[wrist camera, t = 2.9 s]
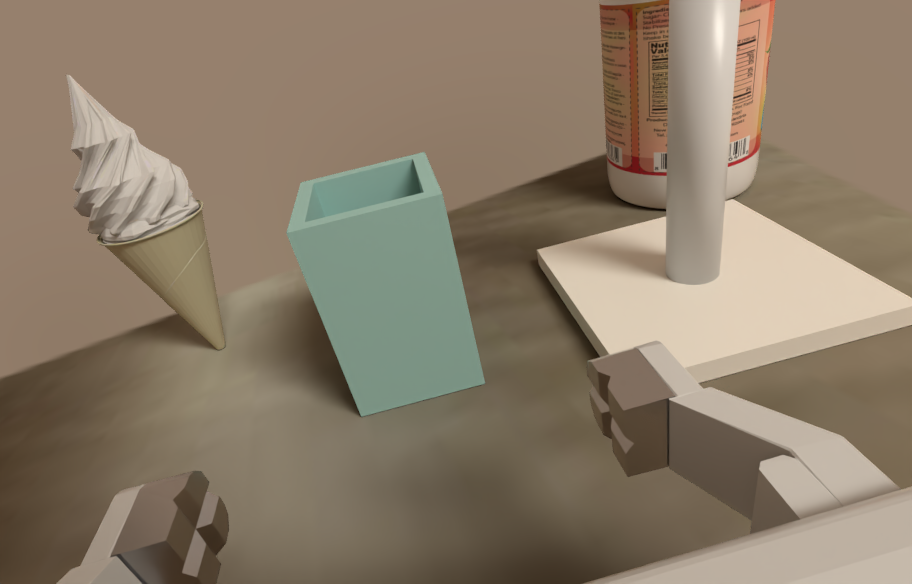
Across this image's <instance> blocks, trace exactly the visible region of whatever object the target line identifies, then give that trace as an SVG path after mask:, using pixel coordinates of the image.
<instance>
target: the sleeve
mask: <svg viewBox="0 0 912 584" xmlns="http://www.w3.org/2000/svg"><path fill="white" fill-rule="evenodd" d="M287 236H288V238H289V241H290V243H291V245H292V248H293V250H294V253H295V255H296V258H297V260H298V263H299V265H300V268H301V270H302V273H303V275H304V277H305V280H306V282H307V285H308V287H309V290H310V292H311V295H312V297H313V300H314V302H315V304H316V307H317V309H318V312H319V314H320V317H321V319H322V322H323V324H324V327H325V329H326V331H327V334H328V336H329V339H330V341H331V344H332V346H333V349H334V351H335V354H336V356H337V358H338V361H339V363H340V366H341V368H342V371H343V373H344V376H345V378H346V381H347V383H348V385H349V388H350V390H351V393H352V395H353V398H354V400H355V403H356V405H357V408H358V410H359V412H360V415H361V417H362V416H366V415H370V414H374V413H377V412H381V411H385V410H389V409H392V408H396V407H400V406H404V405H407V404H411V403H415V402H418V401H422V400H426V399H430V398H433V397H437V396H441V395H445V394H448V393H452V392H456V391H459V390H463V389H467V388H471V387H474V386H478V385H482V384H485V381H484V377H483V372H482V368H481V364H480V359H479V355H478V350H477V346H476V341H475V337H474V332H473V328H472V323H471V319H470V315H469V310H468V306H467V301H466V297H465V292H464V288H463V283H462V279H461V274H460V270H459V266H458V261H457V257H456V252H455V248H454V243H453V239H452V234H451V230H450V225H449V221H448V217H447V212H446V208H445V203H444V199H443V194H442V192H441V189H440V187H439V185H438V183H437V180H436V178H435V175H434V173H433V171H432V168H431V166H430V164H429V161H428V159H427V157H426V154H425V152H422V153H418V154H415V155H410V156H406V157H402V158H398V159H394V160H390V161H386V162H382V163H378V164H374V165H370V166H366V167H362V168H358V169H354V170H350V171H346V172H341V173H337V174H333V175H329V176H326V177H321V178H317V179H314V180H309V181H305V182H301V184H300V188H299V191H298V195H297V198H296V202H295V205H294V209H293V212H292V216H291V219H290V222H289V226H288V230H287Z"/></svg>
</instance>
